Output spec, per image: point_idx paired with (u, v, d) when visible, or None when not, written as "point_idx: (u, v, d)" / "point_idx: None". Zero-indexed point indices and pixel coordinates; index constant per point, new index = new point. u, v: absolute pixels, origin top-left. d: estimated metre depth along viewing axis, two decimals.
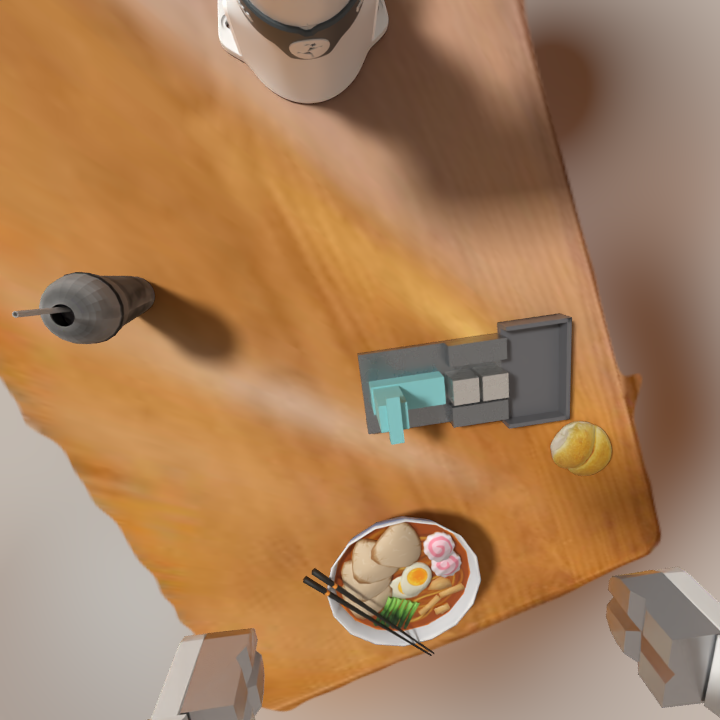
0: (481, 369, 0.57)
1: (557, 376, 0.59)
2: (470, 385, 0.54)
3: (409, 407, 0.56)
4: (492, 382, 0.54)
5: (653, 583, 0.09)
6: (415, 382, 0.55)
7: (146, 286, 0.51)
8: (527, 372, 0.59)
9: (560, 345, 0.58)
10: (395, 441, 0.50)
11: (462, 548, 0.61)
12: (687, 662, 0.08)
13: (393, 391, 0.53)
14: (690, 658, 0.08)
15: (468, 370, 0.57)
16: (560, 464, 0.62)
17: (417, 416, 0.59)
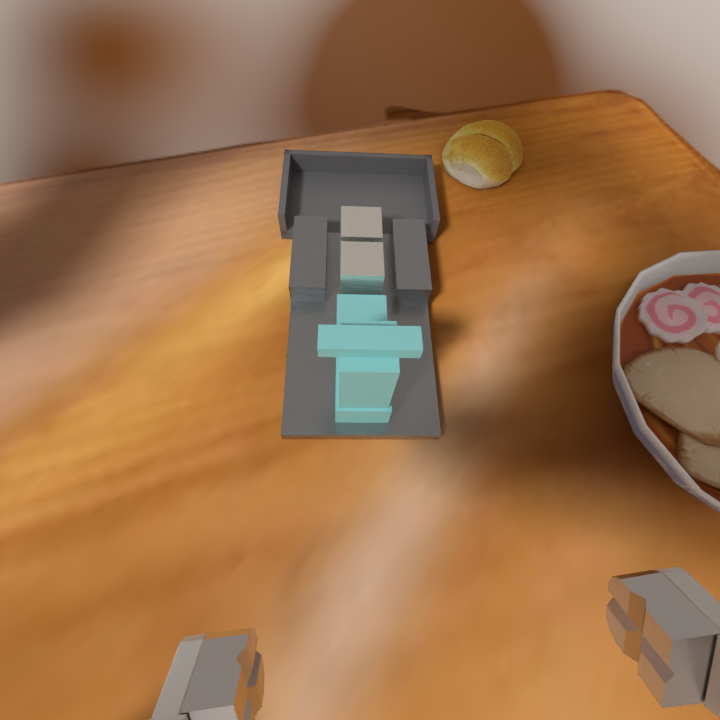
0: None
1: (372, 174, 0.43)
2: (352, 252, 0.33)
3: None
4: (352, 225, 0.35)
5: (653, 583, 0.09)
6: None
7: None
8: (360, 204, 0.41)
9: (327, 168, 0.43)
10: (416, 342, 0.24)
11: (668, 281, 0.33)
12: (686, 662, 0.08)
13: None
14: (690, 658, 0.08)
15: None
16: (504, 171, 0.43)
17: None
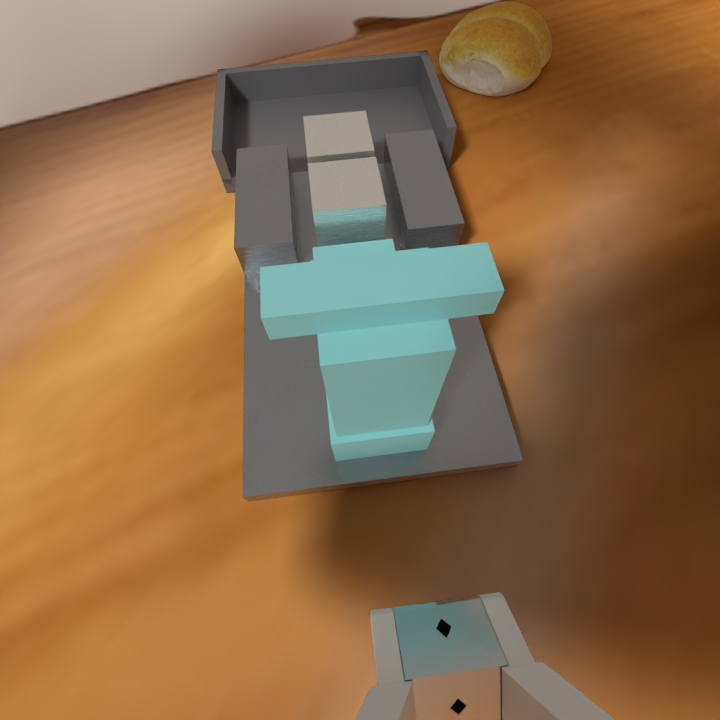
0: None
1: (347, 93, 0.31)
2: (329, 177, 0.20)
3: None
4: (324, 139, 0.22)
5: (466, 610, 0.09)
6: None
7: None
8: None
9: (282, 92, 0.30)
10: (485, 275, 0.10)
11: None
12: (476, 693, 0.08)
13: None
14: (479, 689, 0.08)
15: None
16: (532, 61, 0.30)
17: (449, 320, 0.21)
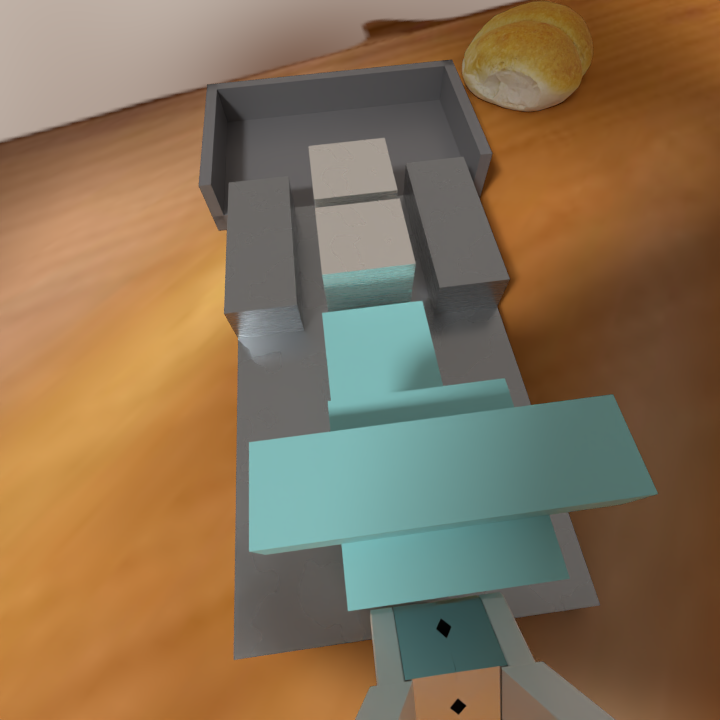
0: None
1: (358, 109, 0.26)
2: (342, 226, 0.16)
3: None
4: (335, 175, 0.18)
5: (466, 610, 0.09)
6: None
7: None
8: None
9: (282, 109, 0.26)
10: (621, 461, 0.06)
11: None
12: (475, 693, 0.08)
13: None
14: (479, 689, 0.08)
15: None
16: (573, 71, 0.26)
17: None
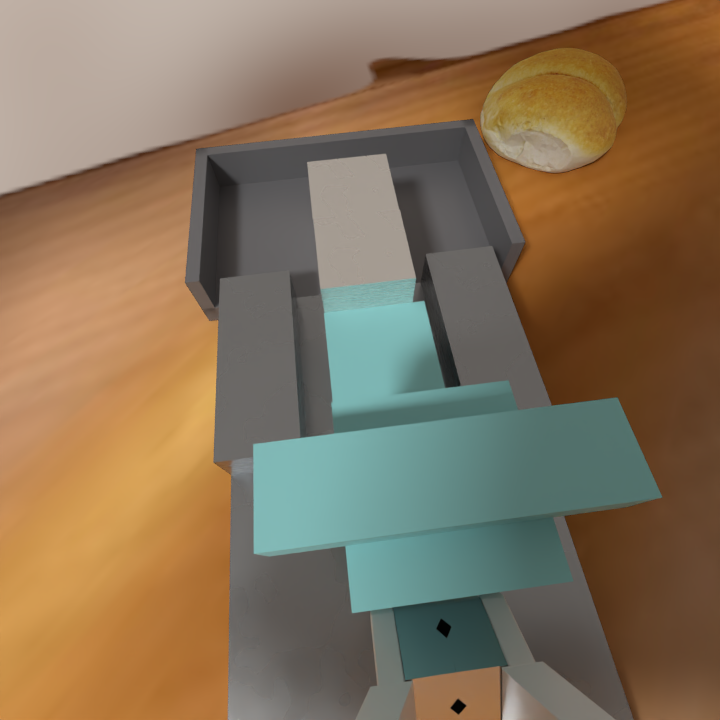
0: None
1: None
2: (341, 239, 0.16)
3: None
4: (334, 193, 0.17)
5: (466, 610, 0.09)
6: None
7: None
8: None
9: (282, 173, 0.23)
10: (625, 465, 0.06)
11: None
12: (476, 693, 0.08)
13: None
14: (479, 689, 0.08)
15: None
16: (608, 132, 0.23)
17: None
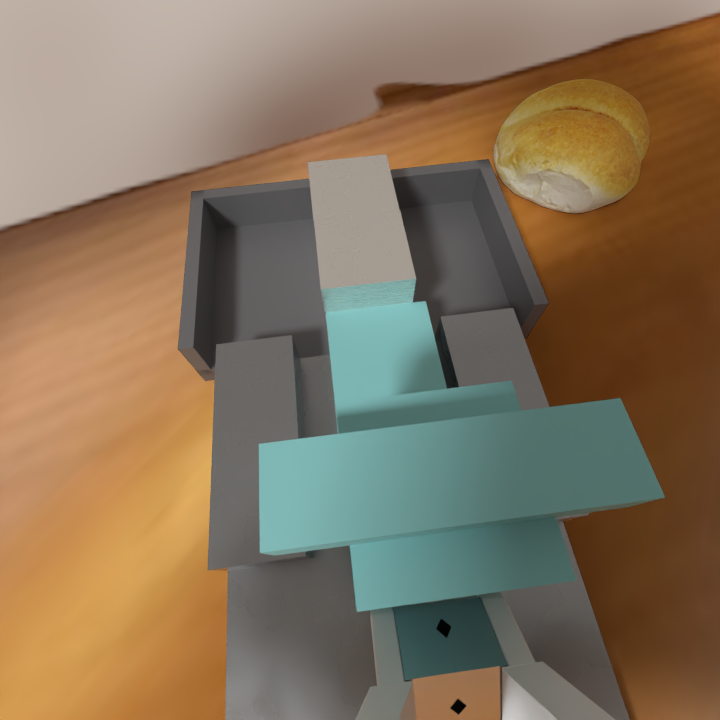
0: None
1: None
2: (341, 239, 0.16)
3: None
4: (335, 194, 0.17)
5: (466, 610, 0.09)
6: None
7: None
8: None
9: (283, 215, 0.22)
10: (628, 465, 0.06)
11: None
12: (475, 693, 0.08)
13: None
14: (479, 689, 0.08)
15: None
16: (632, 172, 0.21)
17: None
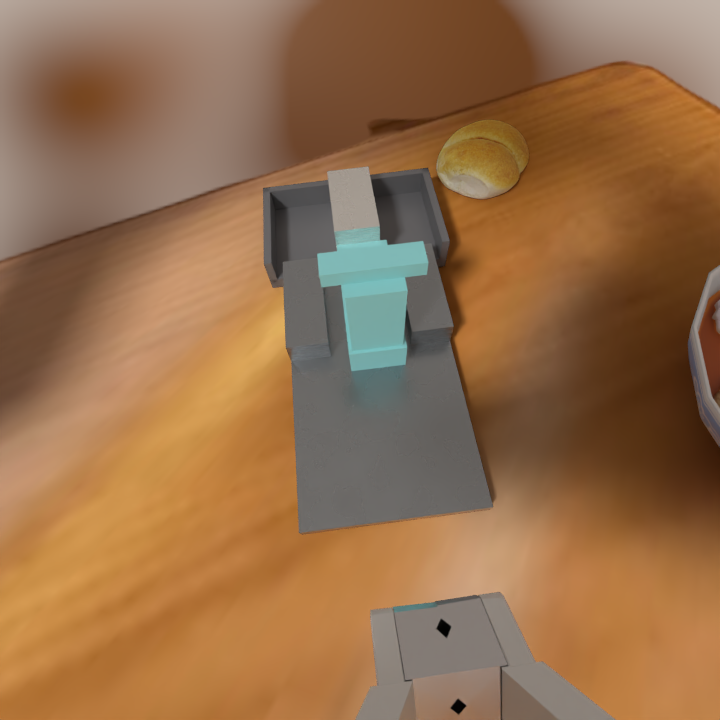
0: None
1: None
2: (344, 209, 0.32)
3: None
4: (341, 187, 0.34)
5: (466, 610, 0.09)
6: None
7: None
8: None
9: (312, 201, 0.38)
10: (420, 256, 0.23)
11: None
12: (476, 693, 0.08)
13: None
14: (479, 690, 0.08)
15: None
16: (511, 174, 0.38)
17: (443, 399, 0.29)
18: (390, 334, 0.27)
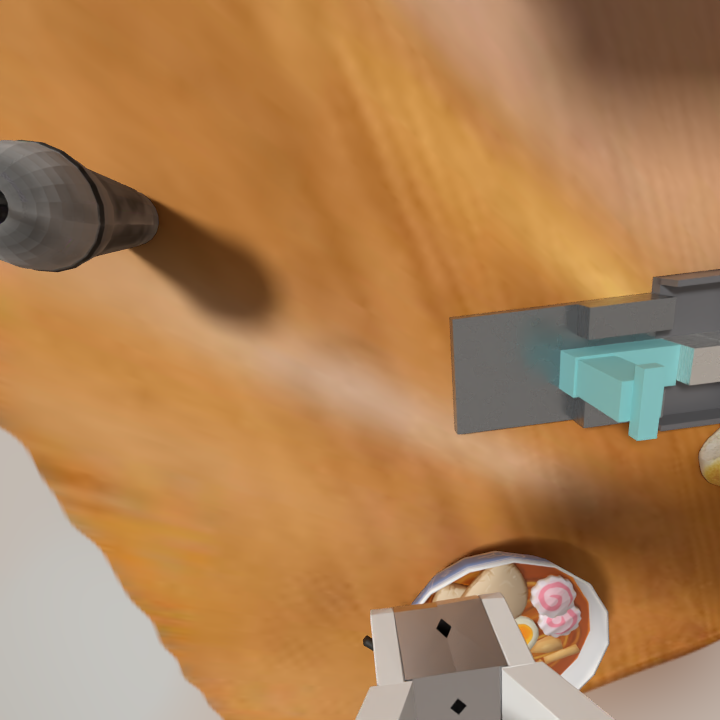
0: (713, 335, 0.39)
1: None
2: (717, 356, 0.37)
3: None
4: None
5: (466, 610, 0.09)
6: (639, 351, 0.38)
7: (146, 201, 0.33)
8: None
9: None
10: (644, 436, 0.32)
11: (583, 598, 0.43)
12: (476, 693, 0.08)
13: (618, 362, 0.36)
14: (479, 689, 0.08)
15: (698, 336, 0.40)
16: (716, 480, 0.44)
17: (528, 411, 0.42)
18: (586, 392, 0.37)
